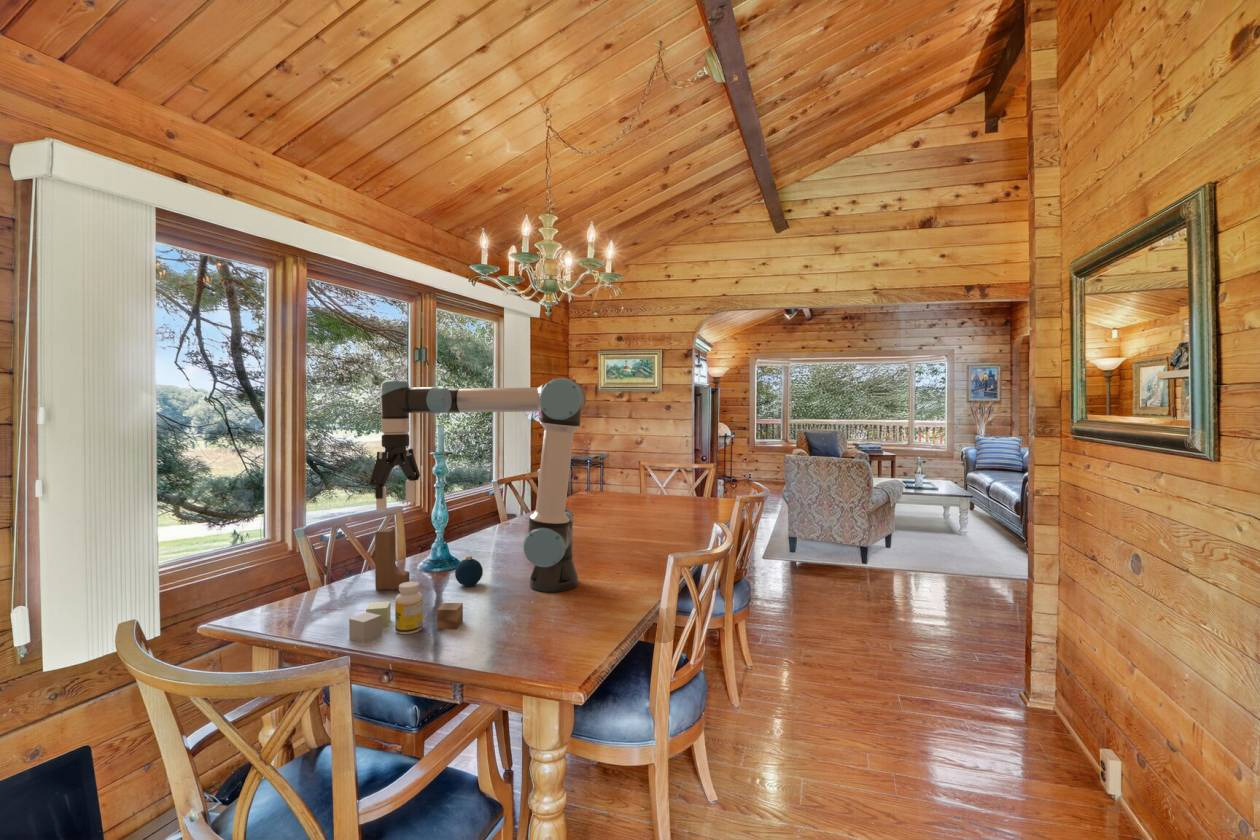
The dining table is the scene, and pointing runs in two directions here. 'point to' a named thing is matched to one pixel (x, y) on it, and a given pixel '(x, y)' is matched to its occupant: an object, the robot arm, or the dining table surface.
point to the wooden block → (387, 562)
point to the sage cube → (381, 611)
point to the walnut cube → (449, 615)
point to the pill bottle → (408, 609)
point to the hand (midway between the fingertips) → (396, 505)
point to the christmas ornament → (468, 571)
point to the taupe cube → (365, 627)
